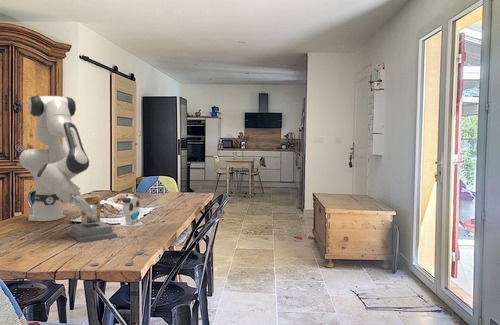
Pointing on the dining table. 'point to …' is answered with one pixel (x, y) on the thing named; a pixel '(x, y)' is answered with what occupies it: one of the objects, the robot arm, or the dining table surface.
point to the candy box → (91, 201)
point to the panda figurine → (131, 211)
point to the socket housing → (91, 231)
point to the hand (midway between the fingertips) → (92, 212)
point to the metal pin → (90, 217)
